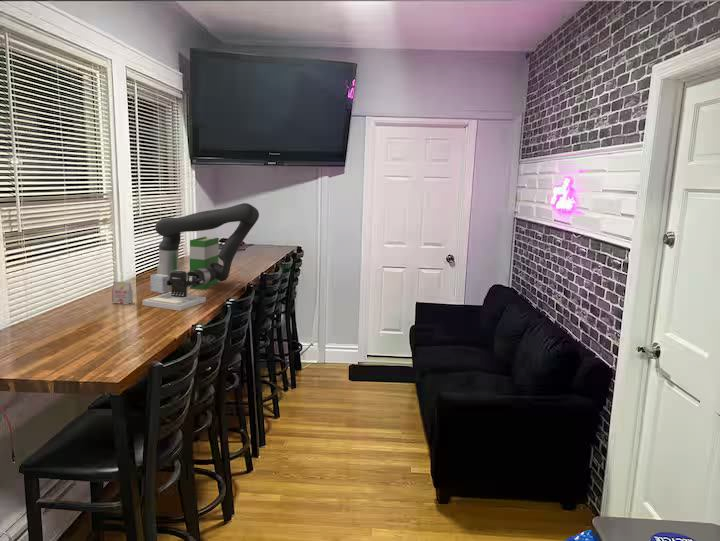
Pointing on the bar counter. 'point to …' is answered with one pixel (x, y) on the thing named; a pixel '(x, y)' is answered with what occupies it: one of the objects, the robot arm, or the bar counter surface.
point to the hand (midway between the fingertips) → (175, 284)
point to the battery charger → (178, 283)
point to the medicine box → (159, 283)
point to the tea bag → (122, 292)
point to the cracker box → (167, 301)
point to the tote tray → (186, 301)
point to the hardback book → (203, 256)
